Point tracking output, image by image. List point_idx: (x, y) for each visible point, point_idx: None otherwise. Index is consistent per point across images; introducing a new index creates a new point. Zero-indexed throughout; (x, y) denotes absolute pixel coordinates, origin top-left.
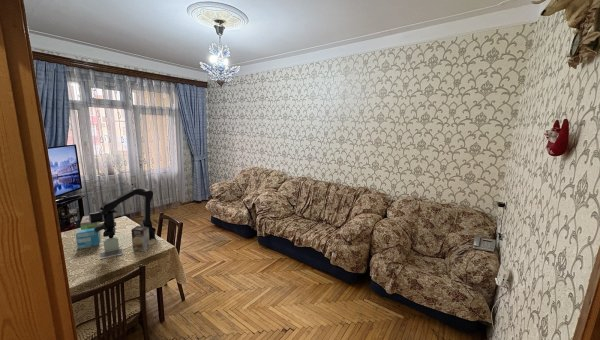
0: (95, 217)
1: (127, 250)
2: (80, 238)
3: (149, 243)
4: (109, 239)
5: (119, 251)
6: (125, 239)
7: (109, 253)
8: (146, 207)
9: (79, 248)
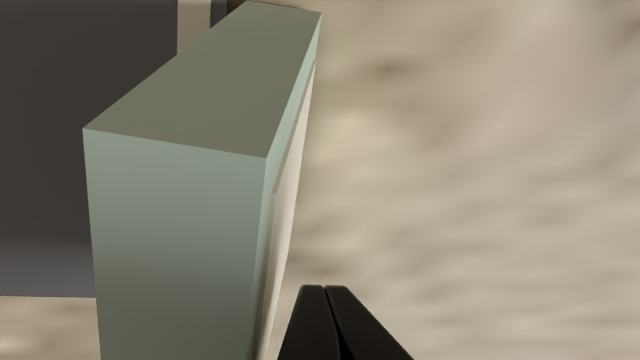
0: None
1: (77, 353)
2: None
3: None
4: (147, 358)
5: (60, 261)
6: (548, 329)
7: (39, 91)
8: None
9: None
